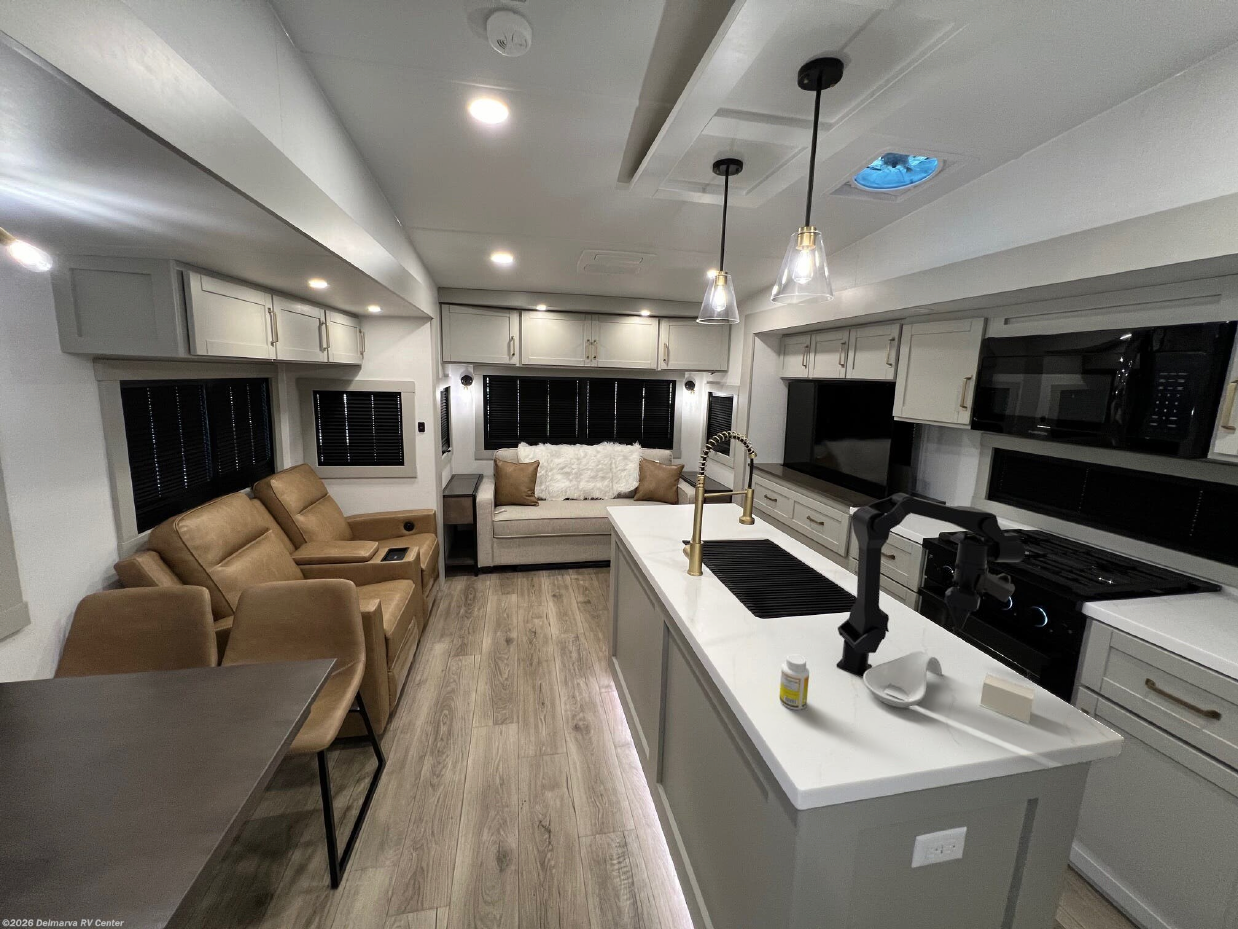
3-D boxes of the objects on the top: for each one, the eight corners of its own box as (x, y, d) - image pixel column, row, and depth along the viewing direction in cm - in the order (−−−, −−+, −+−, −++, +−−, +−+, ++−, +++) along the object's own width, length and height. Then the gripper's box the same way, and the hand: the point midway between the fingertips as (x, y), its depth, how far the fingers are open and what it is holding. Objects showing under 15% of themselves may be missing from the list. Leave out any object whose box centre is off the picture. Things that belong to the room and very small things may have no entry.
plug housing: (1029, 721, 97) (1033, 699, 96) (980, 703, 103) (983, 682, 102) (1030, 711, 100) (1034, 689, 100) (983, 694, 106) (986, 673, 105)
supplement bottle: (798, 694, 106) (802, 651, 105) (811, 710, 101) (815, 665, 99) (774, 695, 106) (778, 652, 104) (785, 711, 100) (789, 666, 99)
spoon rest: (905, 724, 98) (909, 692, 97) (851, 693, 108) (854, 664, 106) (957, 686, 111) (961, 658, 110) (904, 662, 121) (908, 635, 119)
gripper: (1011, 581, 102) (1000, 649, 104) (1018, 560, 115) (1008, 621, 118) (948, 567, 109) (939, 631, 112) (962, 548, 123) (954, 606, 125)
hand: (962, 622), depth 116 cm, fingers open, 9 cm apart
